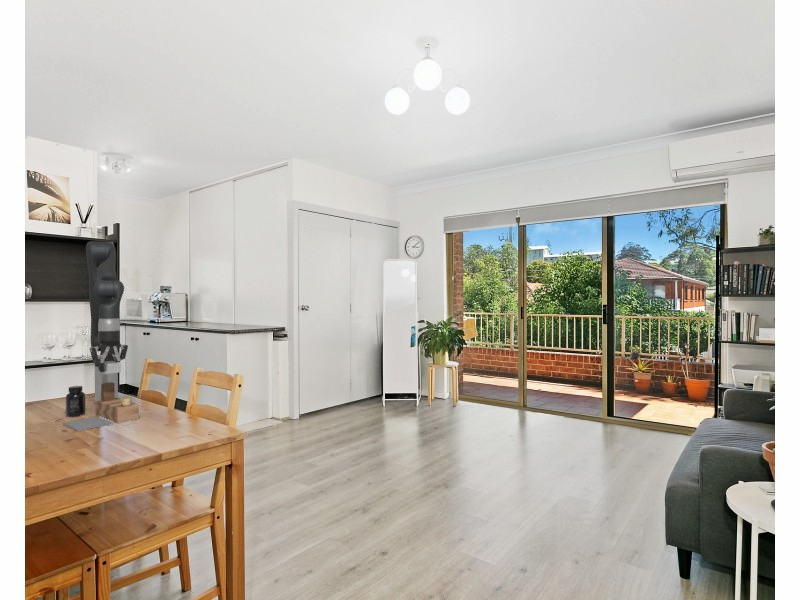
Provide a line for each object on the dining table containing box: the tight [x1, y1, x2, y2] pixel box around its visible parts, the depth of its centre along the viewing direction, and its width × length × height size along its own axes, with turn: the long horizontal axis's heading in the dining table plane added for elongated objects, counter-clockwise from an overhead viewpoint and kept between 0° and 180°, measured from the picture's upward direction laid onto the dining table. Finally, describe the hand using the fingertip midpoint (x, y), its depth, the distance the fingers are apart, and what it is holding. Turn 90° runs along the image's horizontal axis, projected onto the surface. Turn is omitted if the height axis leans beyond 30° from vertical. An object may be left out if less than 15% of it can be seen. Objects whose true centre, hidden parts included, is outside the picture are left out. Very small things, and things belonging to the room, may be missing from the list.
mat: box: [62, 416, 114, 432], centre depth 186 cm, size 14×12×1 cm
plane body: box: [95, 382, 140, 424], centre depth 198 cm, size 20×8×13 cm, turn 54°
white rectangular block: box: [98, 361, 122, 374], centre depth 194 cm, size 8×5×4 cm, turn 55°
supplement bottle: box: [65, 385, 86, 418], centre depth 201 cm, size 7×7×12 cm
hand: (109, 371), depth 194 cm, fingers closed on white rectangular block, 5 cm apart
